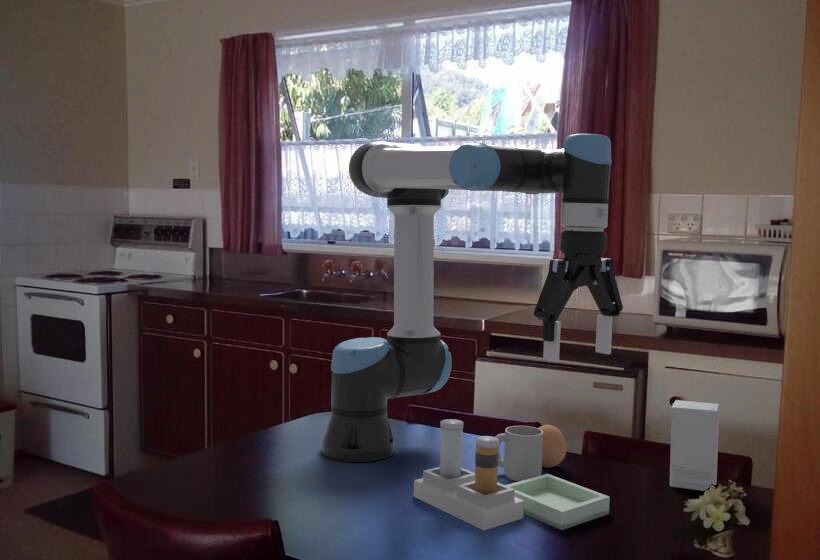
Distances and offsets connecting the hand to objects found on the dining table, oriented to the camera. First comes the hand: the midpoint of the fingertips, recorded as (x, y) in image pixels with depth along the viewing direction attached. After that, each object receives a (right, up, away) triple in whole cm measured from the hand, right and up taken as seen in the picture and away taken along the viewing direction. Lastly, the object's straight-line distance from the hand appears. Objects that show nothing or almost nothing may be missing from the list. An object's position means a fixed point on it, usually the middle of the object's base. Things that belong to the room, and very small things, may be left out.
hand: (577, 357), depth 130 cm
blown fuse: (-16, -23, 0) cm, 28 cm away
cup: (-8, -25, +21) cm, 33 cm away
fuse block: (-18, -26, +3) cm, 32 cm away
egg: (-1, -25, +26) cm, 36 cm away
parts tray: (-3, -26, +4) cm, 27 cm away
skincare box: (+25, -26, +17) cm, 40 cm away
